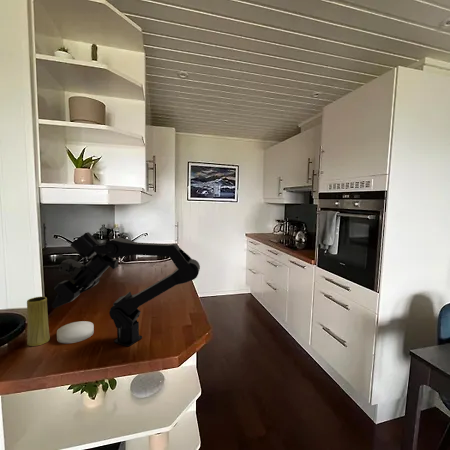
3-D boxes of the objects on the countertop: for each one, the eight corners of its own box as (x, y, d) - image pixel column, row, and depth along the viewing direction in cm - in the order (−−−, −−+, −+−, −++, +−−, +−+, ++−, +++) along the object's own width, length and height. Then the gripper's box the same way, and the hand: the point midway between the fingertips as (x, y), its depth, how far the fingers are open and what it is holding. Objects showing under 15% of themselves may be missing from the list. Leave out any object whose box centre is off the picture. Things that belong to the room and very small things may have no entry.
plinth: (100, 331, 94) (100, 324, 94) (71, 346, 84) (71, 338, 84) (79, 325, 98) (79, 319, 98) (49, 339, 88) (49, 331, 88)
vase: (25, 341, 87) (23, 299, 86) (47, 335, 91) (46, 294, 90) (29, 348, 82) (26, 304, 81) (52, 341, 87) (50, 299, 86)
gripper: (89, 246, 94) (59, 277, 95) (59, 256, 76) (21, 294, 76) (112, 268, 95) (82, 298, 96) (88, 283, 77) (51, 320, 77)
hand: (61, 301), depth 86 cm, fingers open, 9 cm apart
